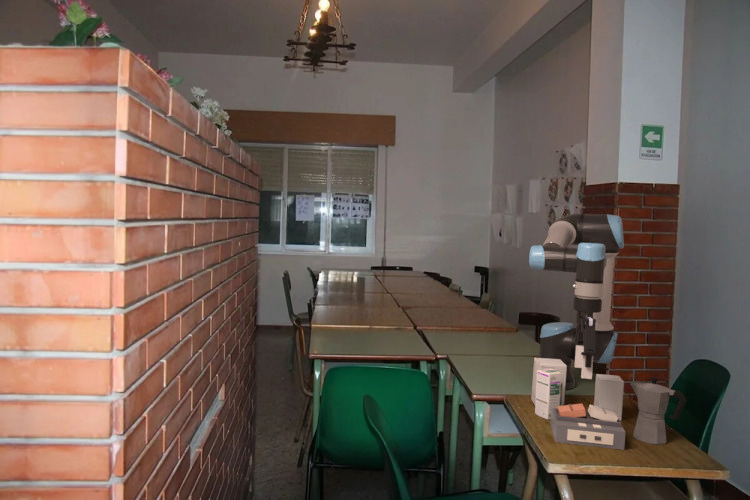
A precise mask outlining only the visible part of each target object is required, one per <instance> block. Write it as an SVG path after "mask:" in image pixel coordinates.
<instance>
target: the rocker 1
mask: <svg viewBox="0 0 750 500" xmlns="http://www.w3.org/2000/svg"><path fill="white" fill-rule="evenodd" d="M557 407H558V413H559V416H567V417H582V416H586V412H587V411H586V409H585V406H584V405H583V403H574V404H571V403H568V404H564V406H557ZM585 411H586V412H585Z"/></svg>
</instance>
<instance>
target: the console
mask: <svg viewBox="0 0 750 500" xmlns="http://www.w3.org/2000/svg"><path fill="white" fill-rule="evenodd" d="M585 412H586V416H582V417H567V416H559V413H558V409H557V408H554V409H553V408H551V419H549V421H550V423H549V424H550V425H549V426H550V428H551V431H552V436H553V438H554V441H555V443H562V444H570V445H580V446H586V447H587V446H588V447H596V448H604V449H605V448H606V449H614V450H620V451H621V450H622V451H624V450H625V445H626V431H625V429H624V427H623V426H622V421H620V420H619V419H618V420H617V422H614V421H605V420H600V419H597V418H594V417H591V416H590V414H589V412H588V411H586V410H585Z"/></svg>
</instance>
